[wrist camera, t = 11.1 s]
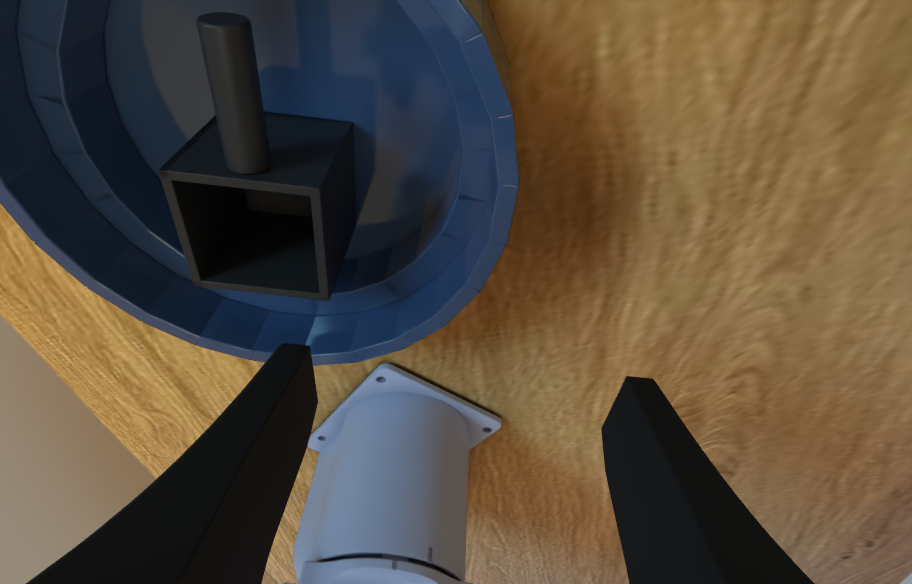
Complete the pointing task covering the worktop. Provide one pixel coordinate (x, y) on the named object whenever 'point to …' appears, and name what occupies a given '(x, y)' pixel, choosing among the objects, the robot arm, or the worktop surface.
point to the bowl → (283, 91)
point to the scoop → (260, 182)
